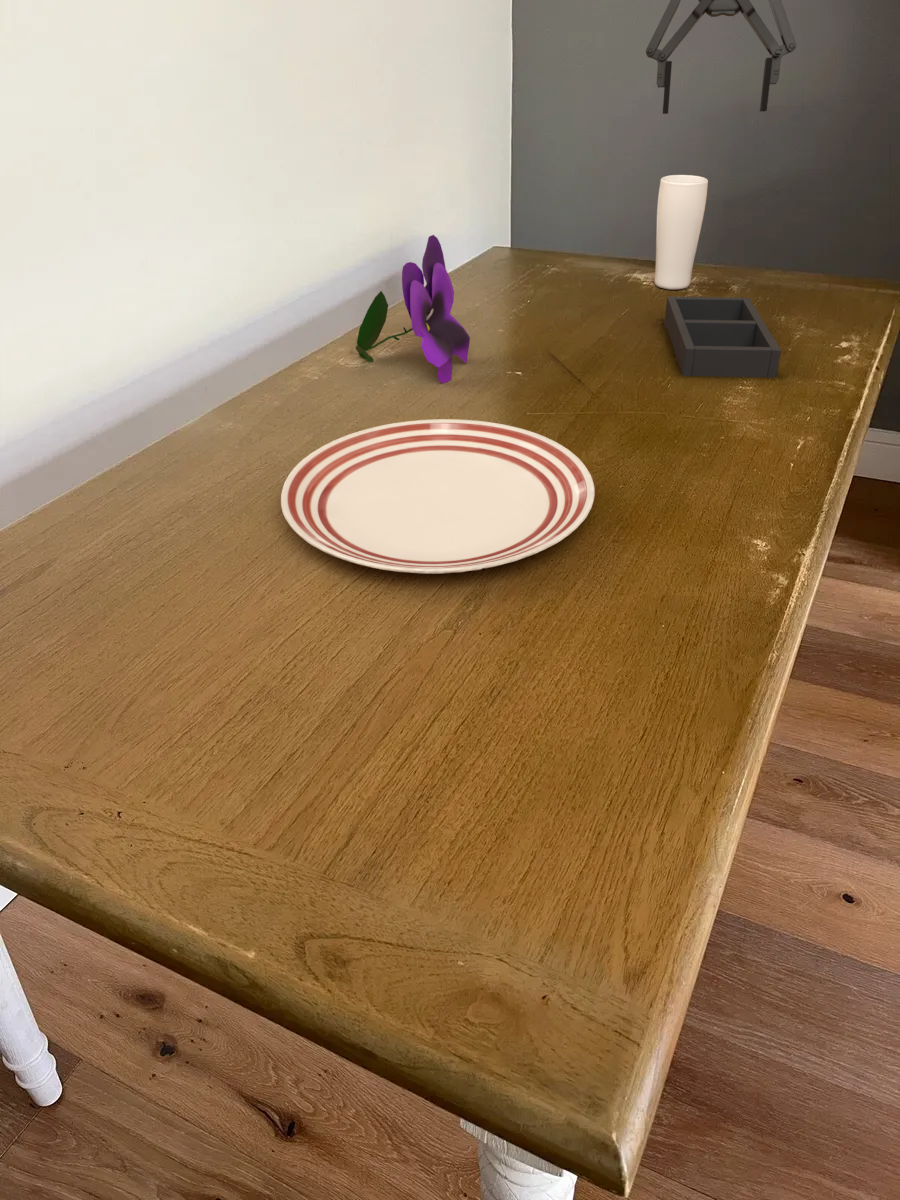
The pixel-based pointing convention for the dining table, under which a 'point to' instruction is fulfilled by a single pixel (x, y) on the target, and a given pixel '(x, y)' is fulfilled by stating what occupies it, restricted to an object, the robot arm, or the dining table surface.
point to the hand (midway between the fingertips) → (713, 112)
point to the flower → (422, 313)
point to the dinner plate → (437, 496)
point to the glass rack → (720, 337)
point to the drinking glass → (678, 228)
